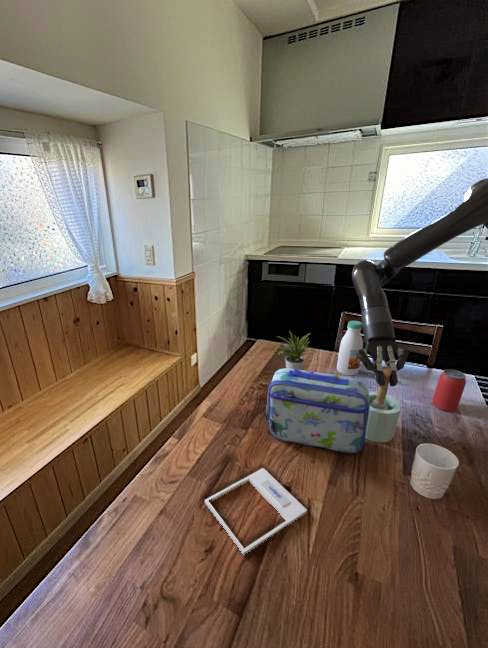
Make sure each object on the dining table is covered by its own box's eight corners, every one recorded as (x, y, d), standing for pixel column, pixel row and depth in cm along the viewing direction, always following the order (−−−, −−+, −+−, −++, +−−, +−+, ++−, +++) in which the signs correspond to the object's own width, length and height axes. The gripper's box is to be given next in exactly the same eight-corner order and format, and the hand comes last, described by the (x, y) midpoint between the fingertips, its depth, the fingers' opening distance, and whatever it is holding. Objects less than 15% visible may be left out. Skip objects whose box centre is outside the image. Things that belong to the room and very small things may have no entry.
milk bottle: (338, 375, 127) (345, 326, 118) (335, 365, 133) (341, 318, 125) (360, 376, 125) (369, 327, 116) (356, 366, 132) (364, 319, 123)
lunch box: (262, 439, 98) (264, 377, 89) (270, 417, 107) (273, 359, 98) (361, 464, 87) (375, 397, 79) (361, 437, 96) (373, 374, 87)
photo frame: (307, 509, 75) (243, 552, 67) (306, 513, 75) (243, 555, 68) (263, 467, 87) (204, 499, 79) (263, 470, 87) (204, 502, 79)
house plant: (289, 359, 140) (292, 323, 133) (320, 371, 130) (325, 332, 123) (268, 371, 132) (270, 333, 125) (299, 385, 122) (302, 345, 115)
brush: (387, 412, 96) (398, 367, 90) (383, 420, 93) (394, 374, 87) (371, 407, 99) (380, 362, 93) (366, 414, 96) (375, 369, 90)
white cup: (402, 488, 80) (411, 456, 76) (412, 469, 85) (421, 438, 81) (442, 508, 75) (454, 475, 71) (450, 486, 80) (462, 454, 75)
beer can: (460, 414, 103) (471, 380, 98) (435, 410, 105) (445, 377, 100) (452, 401, 108) (463, 369, 103) (428, 398, 110) (438, 367, 106)
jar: (397, 428, 99) (404, 400, 95) (388, 447, 92) (396, 418, 88) (360, 415, 105) (366, 388, 101) (350, 432, 98) (355, 404, 94)
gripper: (356, 321, 93) (365, 382, 87) (410, 320, 91) (423, 383, 85) (347, 330, 100) (355, 388, 94) (397, 330, 98) (408, 389, 92)
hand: (387, 385), depth 90 cm, fingers closed on brush, 2 cm apart
